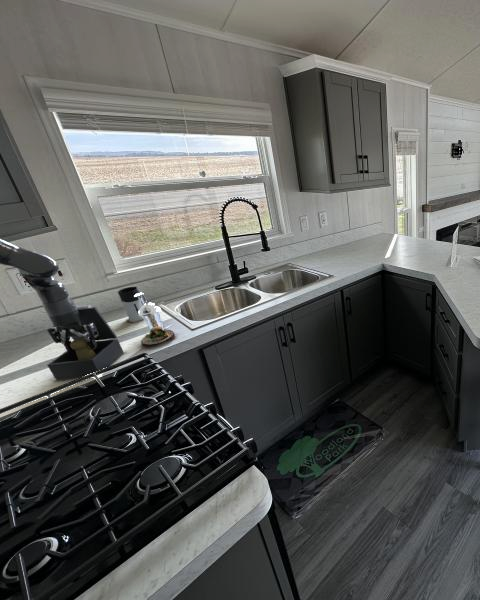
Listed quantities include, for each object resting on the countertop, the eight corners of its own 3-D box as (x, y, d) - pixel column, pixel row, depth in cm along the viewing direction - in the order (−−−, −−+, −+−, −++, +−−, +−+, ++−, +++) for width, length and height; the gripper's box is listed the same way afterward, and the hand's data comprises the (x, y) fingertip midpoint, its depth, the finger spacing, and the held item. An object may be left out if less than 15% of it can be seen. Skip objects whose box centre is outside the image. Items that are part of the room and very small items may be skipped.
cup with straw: (173, 327, 151) (157, 288, 143) (153, 337, 144) (136, 296, 135) (160, 324, 154) (144, 285, 146) (141, 334, 147) (123, 294, 138)
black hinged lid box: (100, 375, 121) (92, 359, 118) (56, 380, 119) (46, 365, 116) (124, 352, 134) (117, 338, 131) (84, 357, 132) (77, 343, 129)
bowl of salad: (135, 348, 136) (128, 333, 133) (154, 333, 147) (148, 319, 144) (164, 347, 136) (158, 331, 133) (180, 332, 147) (175, 317, 144)
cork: (103, 362, 126) (90, 338, 122) (83, 370, 122) (69, 346, 117) (98, 357, 130) (85, 334, 125) (78, 365, 125) (64, 341, 120)
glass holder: (141, 312, 168) (130, 285, 161) (162, 315, 163) (151, 288, 157) (124, 320, 160) (111, 292, 154) (145, 323, 156) (132, 295, 149)
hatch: (94, 308, 121) (101, 300, 125) (50, 312, 119) (59, 304, 123) (116, 338, 130) (122, 330, 134) (75, 342, 128) (83, 334, 132)
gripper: (30, 317, 112) (54, 357, 119) (76, 313, 113) (97, 352, 120) (48, 308, 118) (69, 346, 125) (91, 304, 120) (110, 342, 127)
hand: (83, 349), depth 123 cm, fingers open, 7 cm apart
